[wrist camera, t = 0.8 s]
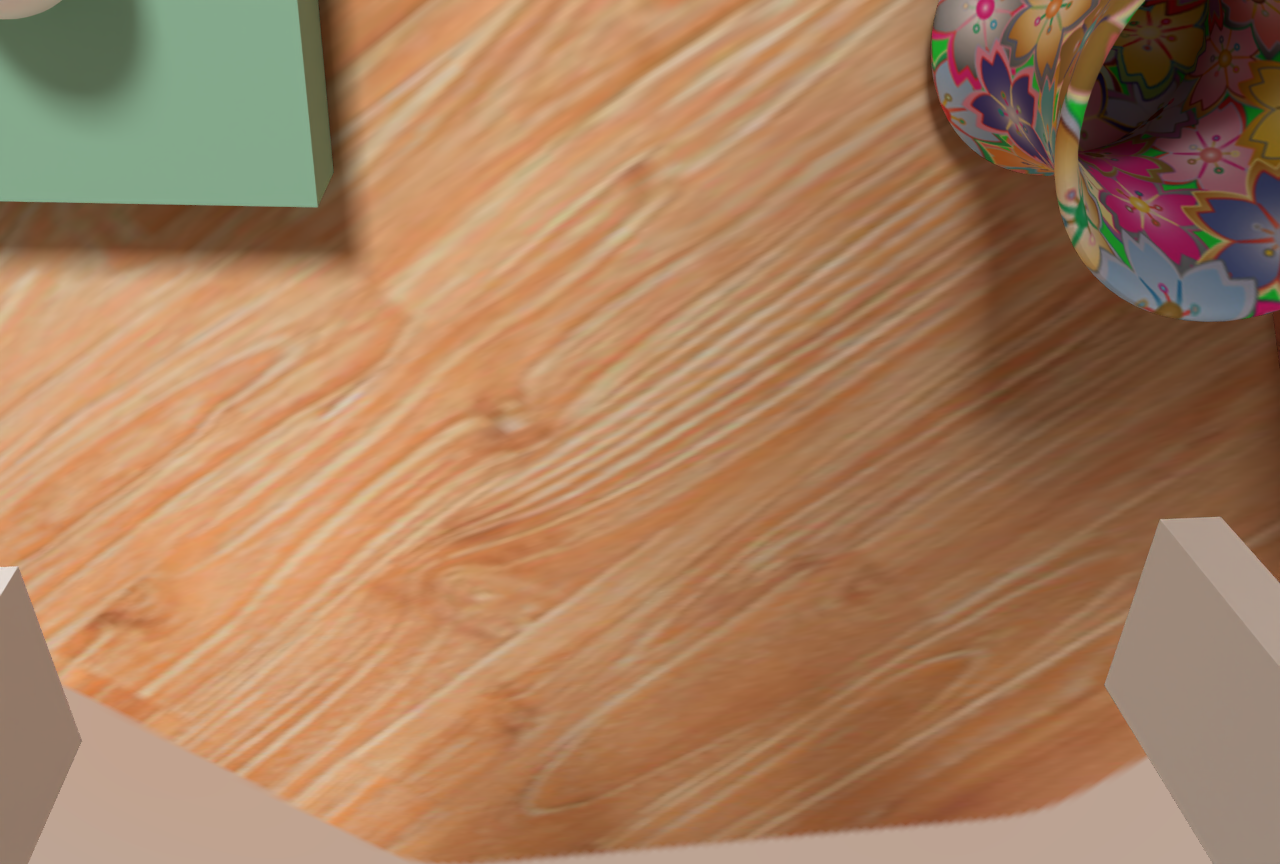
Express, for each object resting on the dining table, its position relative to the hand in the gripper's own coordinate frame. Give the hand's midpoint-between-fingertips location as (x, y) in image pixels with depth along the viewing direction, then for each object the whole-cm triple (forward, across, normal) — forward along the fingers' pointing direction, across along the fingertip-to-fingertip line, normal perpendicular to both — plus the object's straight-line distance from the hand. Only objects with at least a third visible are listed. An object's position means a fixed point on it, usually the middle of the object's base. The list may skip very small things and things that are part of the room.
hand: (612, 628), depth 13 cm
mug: (+23, +16, +3) cm, 28 cm away
